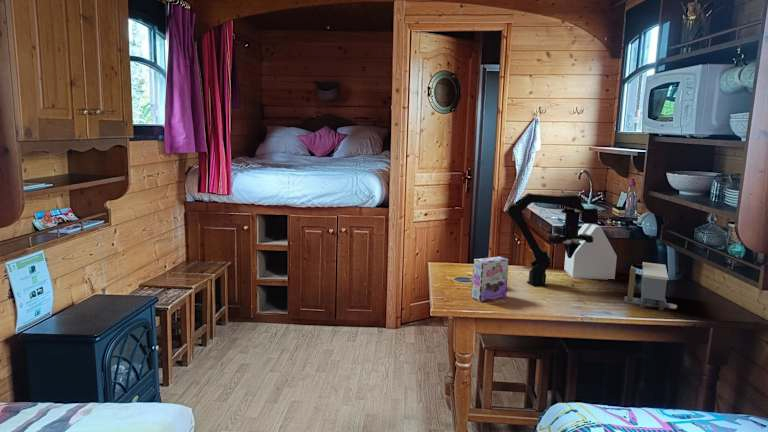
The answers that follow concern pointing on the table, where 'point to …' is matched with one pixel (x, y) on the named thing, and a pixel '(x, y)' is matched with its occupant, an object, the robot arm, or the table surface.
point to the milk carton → (592, 256)
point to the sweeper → (631, 290)
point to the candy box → (489, 278)
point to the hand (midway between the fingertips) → (569, 258)
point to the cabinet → (653, 284)
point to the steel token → (671, 306)
